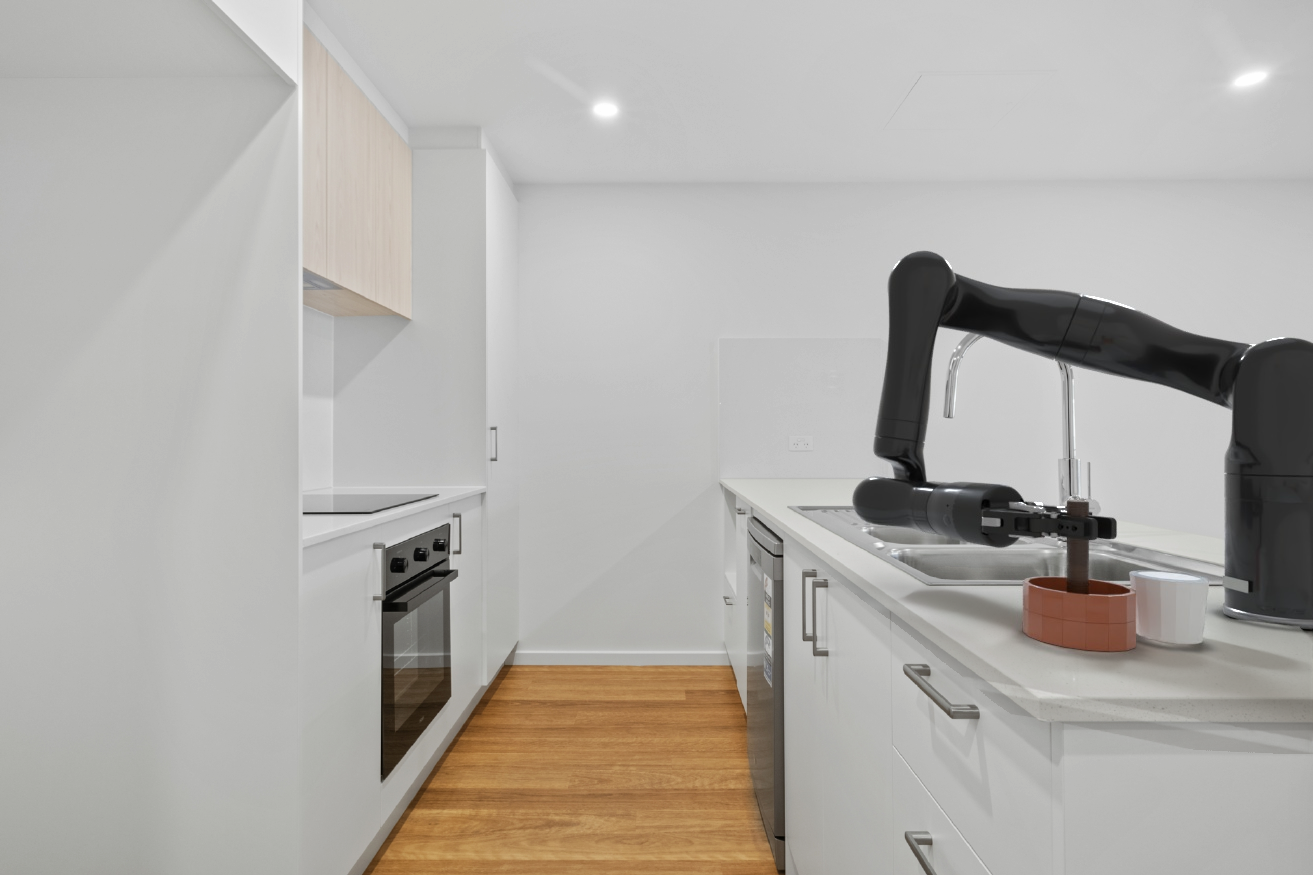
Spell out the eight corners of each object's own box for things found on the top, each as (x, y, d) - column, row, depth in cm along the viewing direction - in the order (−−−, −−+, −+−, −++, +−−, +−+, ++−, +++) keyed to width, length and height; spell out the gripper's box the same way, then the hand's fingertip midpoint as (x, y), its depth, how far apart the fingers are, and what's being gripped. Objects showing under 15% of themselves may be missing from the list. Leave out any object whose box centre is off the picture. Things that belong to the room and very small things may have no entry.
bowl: (1029, 625, 79) (1029, 572, 79) (1136, 639, 74) (1136, 583, 74) (1017, 645, 71) (1017, 587, 71) (1135, 664, 65) (1135, 600, 65)
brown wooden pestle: (1061, 631, 75) (1061, 499, 75) (1096, 636, 73) (1096, 500, 73) (1058, 638, 72) (1058, 501, 72) (1094, 643, 70) (1095, 502, 70)
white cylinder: (1199, 637, 75) (1198, 572, 75) (1219, 654, 68) (1219, 583, 69) (1123, 629, 78) (1123, 567, 78) (1136, 645, 71) (1135, 577, 71)
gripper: (928, 483, 84) (1052, 493, 67) (1017, 481, 88) (1154, 491, 72) (928, 545, 84) (1052, 570, 67) (1017, 540, 88) (1154, 563, 72)
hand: (1104, 529), depth 70 cm, fingers closed on brown wooden pestle, 2 cm apart
